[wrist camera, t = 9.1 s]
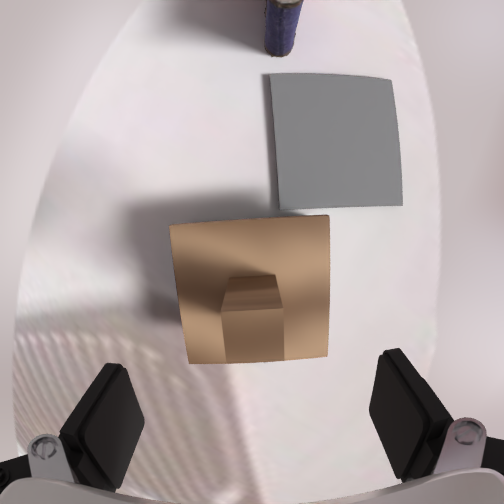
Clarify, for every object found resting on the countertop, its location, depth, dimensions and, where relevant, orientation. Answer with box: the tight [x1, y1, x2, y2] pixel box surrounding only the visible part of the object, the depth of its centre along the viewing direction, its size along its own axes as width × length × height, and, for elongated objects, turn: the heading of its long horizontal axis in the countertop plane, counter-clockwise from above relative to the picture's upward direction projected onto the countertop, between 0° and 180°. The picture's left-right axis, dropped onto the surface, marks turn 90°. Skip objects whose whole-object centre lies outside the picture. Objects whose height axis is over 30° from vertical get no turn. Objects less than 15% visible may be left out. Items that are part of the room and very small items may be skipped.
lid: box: [169, 215, 330, 364], centre depth 19 cm, size 11×11×7 cm
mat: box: [270, 74, 403, 210], centre depth 23 cm, size 12×11×1 cm
